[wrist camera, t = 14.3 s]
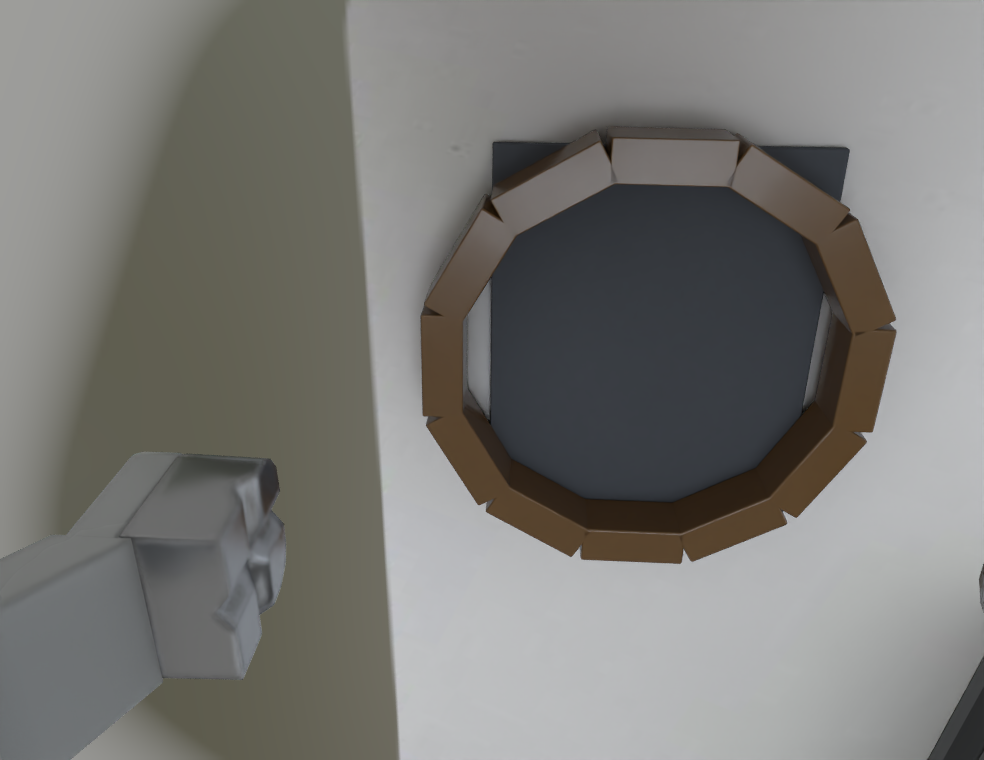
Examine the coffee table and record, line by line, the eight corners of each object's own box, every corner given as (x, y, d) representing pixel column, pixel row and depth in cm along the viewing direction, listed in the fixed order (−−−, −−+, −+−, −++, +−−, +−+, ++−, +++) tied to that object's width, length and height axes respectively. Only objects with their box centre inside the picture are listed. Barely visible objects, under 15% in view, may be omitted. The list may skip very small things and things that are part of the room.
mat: (493, 141, 31) (492, 143, 31) (846, 147, 31) (850, 149, 31) (490, 502, 38) (489, 507, 38) (780, 512, 38) (782, 517, 37)
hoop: (424, 121, 31) (416, 132, 29) (913, 133, 30) (942, 145, 28) (431, 521, 38) (425, 554, 36) (823, 538, 38) (840, 571, 36)
